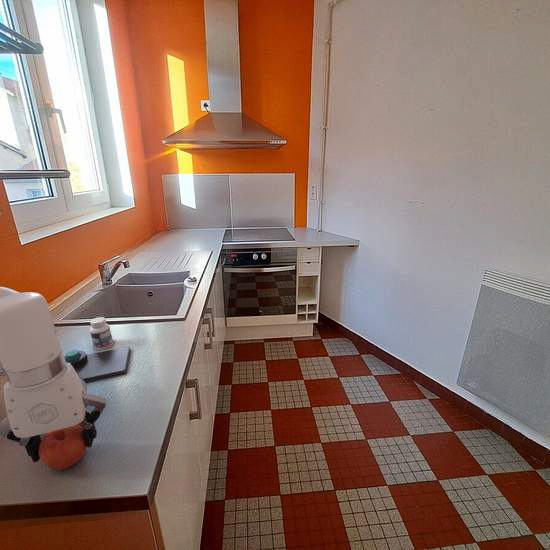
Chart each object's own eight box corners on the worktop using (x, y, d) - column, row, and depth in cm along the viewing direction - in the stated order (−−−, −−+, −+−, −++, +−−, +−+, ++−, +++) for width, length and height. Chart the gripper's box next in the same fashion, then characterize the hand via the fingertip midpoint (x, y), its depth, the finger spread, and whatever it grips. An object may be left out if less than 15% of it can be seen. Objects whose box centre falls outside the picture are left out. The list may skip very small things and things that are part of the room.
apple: (75, 439, 61) (65, 407, 58) (101, 451, 58) (91, 418, 55) (36, 471, 54) (23, 438, 52) (63, 486, 52) (50, 451, 49)
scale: (53, 390, 75) (49, 380, 74) (67, 362, 85) (64, 353, 84) (125, 374, 80) (123, 364, 79) (130, 350, 90) (128, 341, 89)
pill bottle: (91, 346, 93) (84, 321, 90) (107, 339, 97) (101, 314, 94) (99, 352, 90) (92, 325, 87) (116, 344, 94) (110, 318, 91)
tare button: (65, 362, 81) (64, 357, 80) (69, 356, 84) (67, 351, 83) (78, 360, 82) (77, 354, 81) (81, 354, 84) (79, 348, 84)
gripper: (-45, 396, 43) (-3, 483, 49) (92, 368, 48) (115, 450, 54) (-17, 366, 50) (17, 446, 56) (101, 344, 55) (120, 419, 61)
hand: (65, 447), depth 55 cm, fingers open, 7 cm apart
